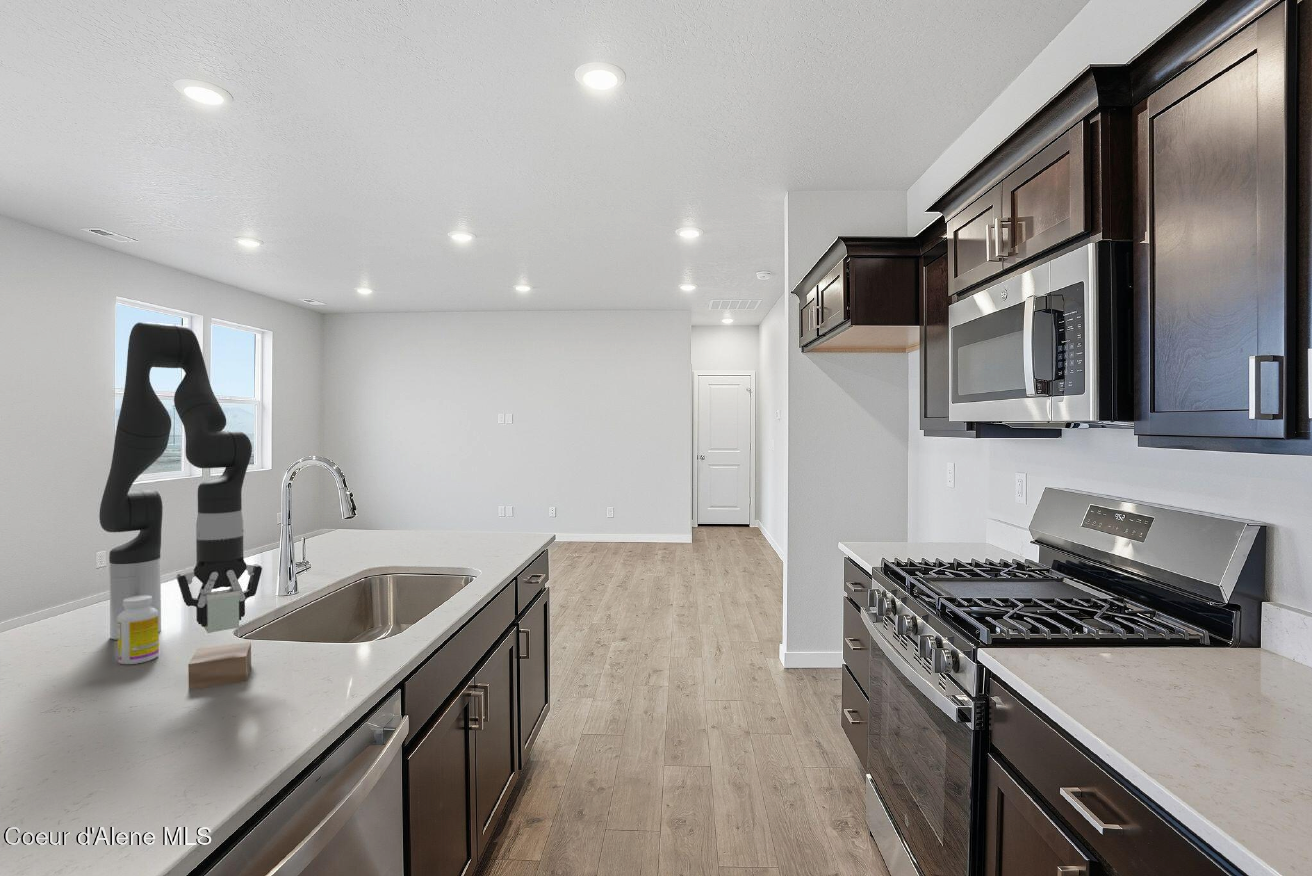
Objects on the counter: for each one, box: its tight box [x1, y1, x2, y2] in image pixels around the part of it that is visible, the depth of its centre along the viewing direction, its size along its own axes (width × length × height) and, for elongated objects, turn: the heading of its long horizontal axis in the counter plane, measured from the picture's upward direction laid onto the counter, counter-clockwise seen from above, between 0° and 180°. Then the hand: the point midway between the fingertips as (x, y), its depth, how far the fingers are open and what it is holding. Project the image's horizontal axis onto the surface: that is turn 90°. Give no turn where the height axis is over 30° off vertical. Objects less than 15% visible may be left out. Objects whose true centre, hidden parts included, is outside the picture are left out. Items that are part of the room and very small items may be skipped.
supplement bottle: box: [117, 595, 160, 665], centre depth 134 cm, size 7×7×13 cm
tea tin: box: [203, 587, 240, 634], centre depth 125 cm, size 5×5×7 cm
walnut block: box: [187, 641, 252, 690], centre depth 125 cm, size 9×9×5 cm
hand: (221, 622), depth 125 cm, fingers closed on tea tin, 5 cm apart
